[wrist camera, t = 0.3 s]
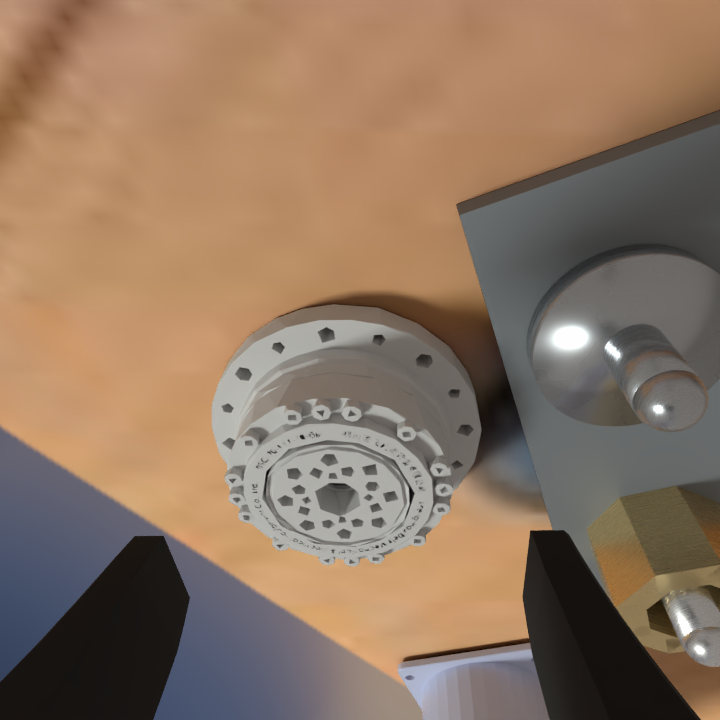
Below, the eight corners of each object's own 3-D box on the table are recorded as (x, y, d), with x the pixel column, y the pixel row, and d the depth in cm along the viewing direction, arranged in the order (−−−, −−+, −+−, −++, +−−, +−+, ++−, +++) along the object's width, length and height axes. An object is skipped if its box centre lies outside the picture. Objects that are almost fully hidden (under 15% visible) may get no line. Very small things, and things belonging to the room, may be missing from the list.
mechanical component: (477, 496, 23) (475, 287, 18) (492, 588, 20) (496, 360, 14) (254, 506, 24) (190, 311, 19) (228, 594, 21) (140, 384, 15)
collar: (722, 558, 23) (770, 639, 20) (599, 579, 24) (627, 659, 21) (718, 476, 20) (772, 556, 17) (580, 505, 22) (609, 583, 19)
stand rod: (675, 540, 22) (745, 673, 18) (635, 548, 23) (693, 679, 18) (672, 515, 22) (744, 647, 17) (630, 523, 22) (690, 654, 18)
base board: (744, 561, 24) (756, 580, 23) (570, 590, 26) (576, 610, 25) (733, 105, 14) (753, 111, 14) (456, 204, 16) (459, 215, 15)
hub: (728, 381, 18) (812, 474, 14) (546, 425, 19) (580, 520, 16) (722, 214, 15) (825, 278, 11) (507, 281, 16) (539, 358, 13)
